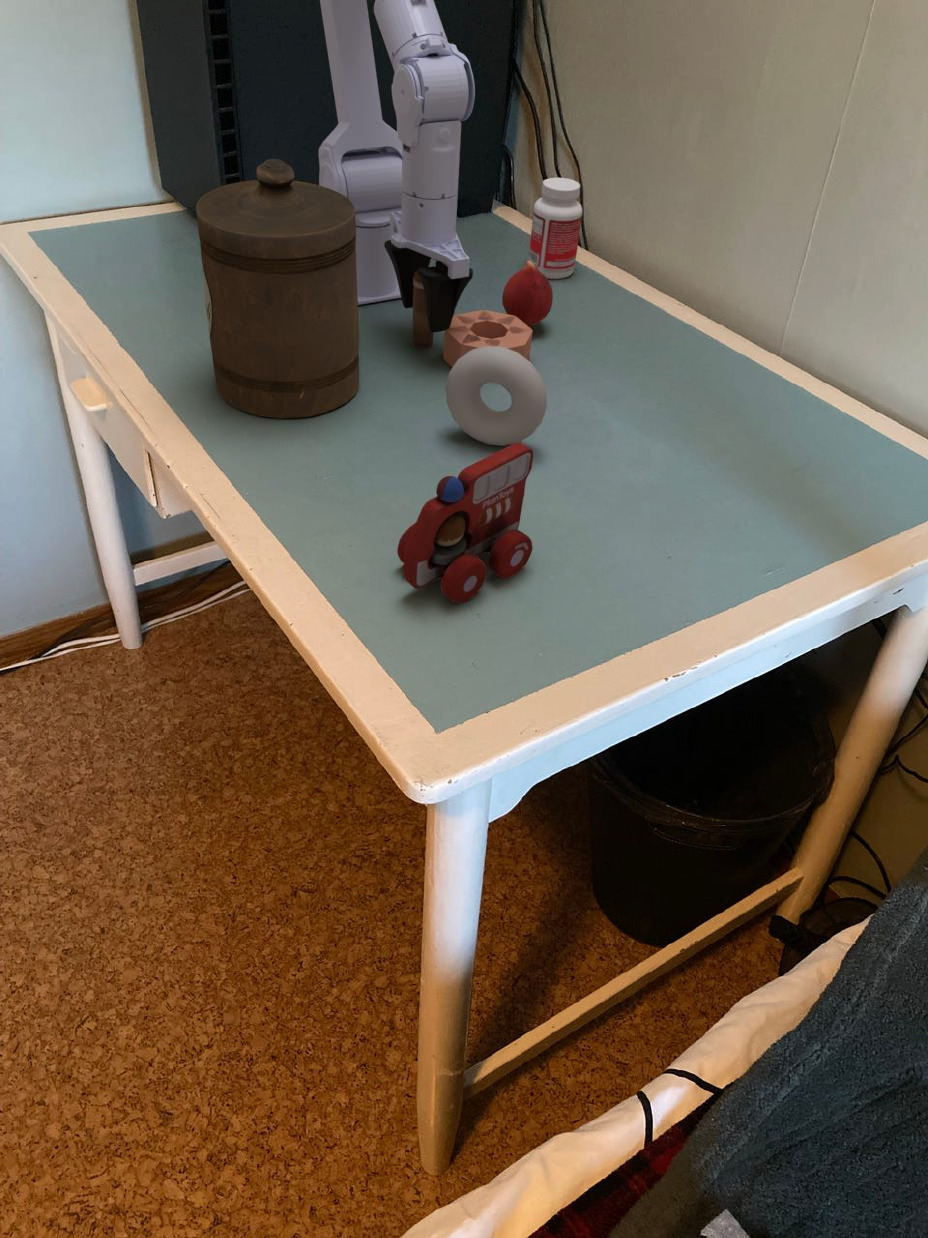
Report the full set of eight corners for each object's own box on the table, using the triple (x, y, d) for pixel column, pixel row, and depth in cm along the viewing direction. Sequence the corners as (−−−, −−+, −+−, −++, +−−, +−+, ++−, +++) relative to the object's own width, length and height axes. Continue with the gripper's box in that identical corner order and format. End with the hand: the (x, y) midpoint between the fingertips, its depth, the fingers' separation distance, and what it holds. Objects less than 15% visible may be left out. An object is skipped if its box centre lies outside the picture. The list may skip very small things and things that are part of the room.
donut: (544, 445, 96) (557, 352, 89) (534, 462, 93) (547, 368, 86) (449, 421, 97) (455, 329, 91) (437, 438, 95) (443, 344, 88)
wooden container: (273, 336, 108) (258, 125, 93) (385, 374, 104) (388, 158, 89) (185, 391, 98) (152, 165, 83) (305, 436, 94) (293, 205, 79)
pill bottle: (581, 269, 128) (594, 182, 120) (560, 284, 124) (572, 196, 116) (540, 257, 130) (551, 171, 122) (518, 271, 126) (527, 183, 118)
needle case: (407, 339, 110) (409, 271, 104) (426, 336, 111) (430, 268, 105) (417, 349, 108) (419, 280, 103) (437, 345, 109) (440, 277, 104)
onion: (549, 319, 116) (558, 254, 111) (547, 341, 112) (556, 274, 106) (501, 314, 116) (507, 248, 111) (497, 336, 112) (504, 268, 107)
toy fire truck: (378, 577, 79) (379, 471, 72) (487, 521, 86) (498, 420, 79) (433, 622, 76) (440, 516, 69) (543, 561, 82) (560, 458, 75)
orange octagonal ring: (432, 347, 109) (433, 318, 106) (500, 334, 112) (503, 305, 110) (470, 385, 103) (473, 355, 101) (541, 369, 107) (545, 340, 104)
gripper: (364, 172, 101) (365, 297, 110) (427, 218, 92) (423, 351, 101) (424, 165, 104) (420, 288, 113) (491, 210, 94) (481, 340, 103)
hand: (425, 317), depth 107 cm, fingers open, 6 cm apart
